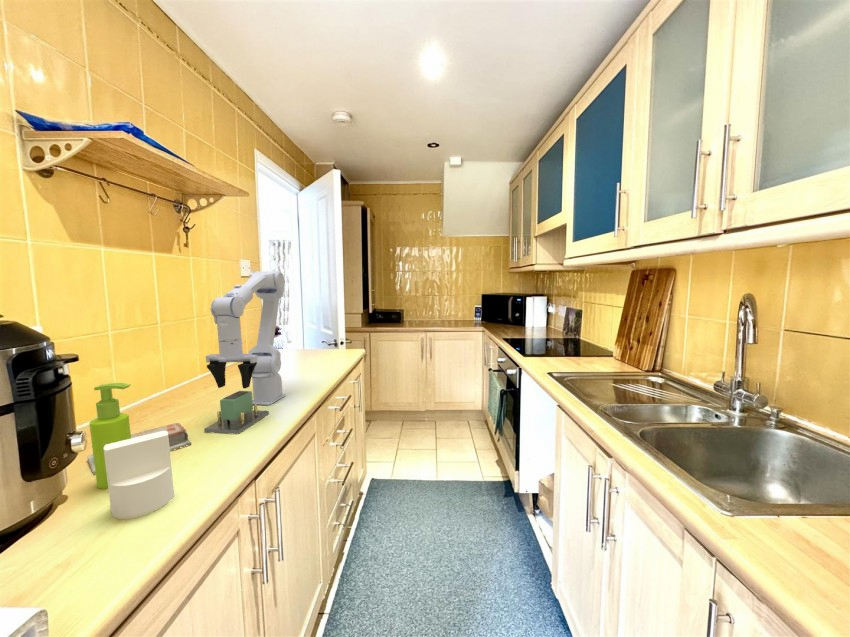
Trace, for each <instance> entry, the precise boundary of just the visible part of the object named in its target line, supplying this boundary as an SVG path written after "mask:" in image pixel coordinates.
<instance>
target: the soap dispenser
mask: <svg viewBox="0 0 850 637" xmlns="http://www.w3.org/2000/svg"><path fill="white" fill-rule="evenodd" d="M130 386H131V384H129V383H122V382H114V383H112V382H111V383H106V384H105V383H103V384H100V385H97V386H95V387H94V389H93V390H94V391H100V400H99V401H98V402H96V404H95V407H96V418H94V419H92V420H91V421H89V423H88V424H89V431H90V439H91V440H90V441H91V446H92V447H91V448H92V454H93V456H94V464H95V472H96V475H95V478H96V479H95V481H96V487H97V488H98V489H102V490H106V489H108V481H107V473H106V464H105V456H104V446H105V445H107V444H111V443H115V442H119V441H123V440H127V439H131V435H132V434H131V427H130V425H131V424H130V418H129V413H124V412H123V413H121V410H120V402H119V399H118V398H115V397H113V390H112V389H114V390H117V389H118V390H125V389H127V388H129V387H130ZM108 490H109V489H108Z"/></svg>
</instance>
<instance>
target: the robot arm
mask: <svg viewBox="0 0 850 637" xmlns="http://www.w3.org/2000/svg"><path fill="white" fill-rule="evenodd" d="M285 283H286V281H285V276H284V274H283V272H282V271H281V270H274V271H273V270H270V271H269V270H266V271H263V270H262V271H255V270H254V271H251V272H250V273H249V274H248V279H247V280H246V282H245V283H243V284H235V285H234V286H233V288H232V289H231V290H229V291H227V292H226V293H225V295H224V296H219V297H218V296H217V297H216V298H215V299H213V300H212V302H211V304H210V308H209V309H210V313H211V315H212V316H213V321H214V324H215V325H216V328H217V329H216V330H217V341H218V351H219V353H217V354H216V353H215V354H214V353H213V354H208V355H207V354H206V355H205V362H206V363H208V364H206V369H208V371H209V372H210V373H211V374H212V377H213V378H214V380H215V383H216V385H217V388H218V389H221V388H224V387H225V386H226V368H227V363H240V364H237V367H238V370H239V373H240V377H241V385H242V389H247V388H250V386H251V381H252V398H253V399H252V402H253V405H257V406H258V405H261V406H262V405H266V406H270V405H272V404H274V403H275V402H277V401H279V400H281V399H282V398H284V397H285V396H286V394H284V393H283V381H282V376H281V375H280V374H279V372H280V371H281V366H282V361H281V359H282V358H281V357H282V356H281V355H282V354H281V352H280V351H279V349H277V348H276V347H275V346H274V343H275V336H276V335H275V333H276V327H277V320H278V312H279V305H280V299H281V298H283V297H284V292H285ZM254 293H255V295H256V297H257V298H259V299H261V300H262V306H261V315H260V321H259V329H258V334H257V341H256V345H254V346H253V347H252V348H251V349H249V350H248V353H243V341H242V340H243V338H242V328H241V317H242V316H243V315H244V311H245V308H246V306H247V305H248V304H249V303H250V302H251V301H252V299H253V297H254Z"/></svg>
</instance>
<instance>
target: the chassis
mask: <svg viewBox="0 0 850 637" xmlns="http://www.w3.org/2000/svg"><path fill="white" fill-rule="evenodd" d="M268 414H269V415H270V411H269V410H259V409H258V405H257V404H253V410H251V411H250V412H248V413H246V414H245V415H244V412H241V413H240V417H239V418H238V419H236V420H221V410H220V411H217V412H216V417H217V418H216V419H217V421H216V422H214V423H212V424H211V425H209V426H207V427H204V429H203V430H204V433H207V432H214V433H213V434H228V433H235V434H234V435H239V434H240V432H241V433H243V432H244V431H246V430H247V429H249V428H250V427H252V426H254V425H255V424H256V423H258V422H260V421H261V420H263V419H264V418H266V417H267V416H268ZM265 416H266V417H265ZM257 421H258V422H257ZM254 423H255V424H254ZM251 425H252V426H251ZM248 427H249V428H248ZM246 428H247V429H246ZM245 429H246V430H245ZM243 430H244V431H243ZM237 433H238V434H237Z"/></svg>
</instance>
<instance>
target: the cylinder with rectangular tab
mask: <svg viewBox="0 0 850 637" xmlns="http://www.w3.org/2000/svg"><path fill="white" fill-rule="evenodd" d="M104 456H105V464H106V473H107V481H108V495H109V496H108V497H109V503H110V512H111V516H112V517H113V518H115V519H118V520H129V519H135V518H139V516H140V517H143V516H146V515H148V514H147V513H149V514H151V513H153V511H154V512H156V511H157V509H158V510H159V508H160V509H161V508H163V507H165V506H166V505H167V504H169V503H170V502H171V501H172V500H173V498H174V497H175V488H174V487H175V486H174V480H173V468H172V459H171V451H170V448H169V438H168V432H167V431H165V430H164V431H160V432H156V433H152V434H148V435H144V436H140V437H135V438H131V439H127V440H123V441H119V442H115V443H111V444H107V445H105V446H104ZM171 499H172V500H171ZM170 500H171V501H170ZM169 501H170V502H169ZM168 502H169V503H168ZM165 504H166V505H165ZM164 505H165V506H164ZM162 506H163V507H162ZM155 510H156V511H155ZM150 512H151V513H150ZM145 514H146V515H145ZM142 515H143V516H142Z"/></svg>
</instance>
